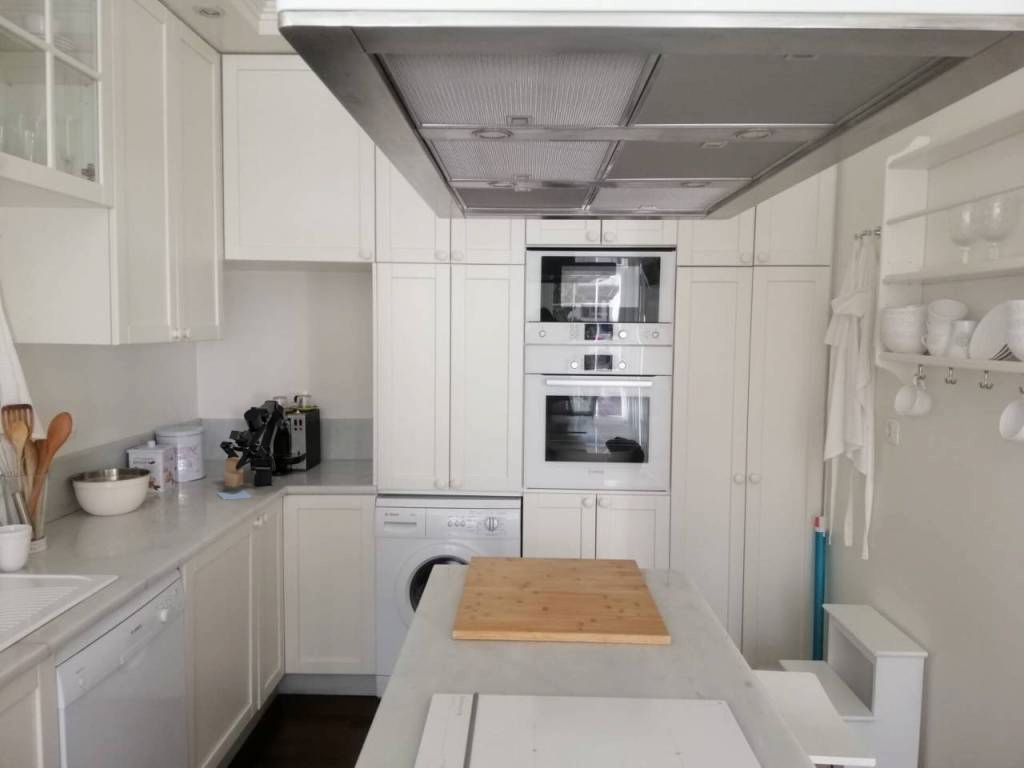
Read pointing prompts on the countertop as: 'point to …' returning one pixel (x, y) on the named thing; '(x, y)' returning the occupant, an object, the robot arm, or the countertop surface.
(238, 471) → the tan wooden block
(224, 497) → the light blue square tile
